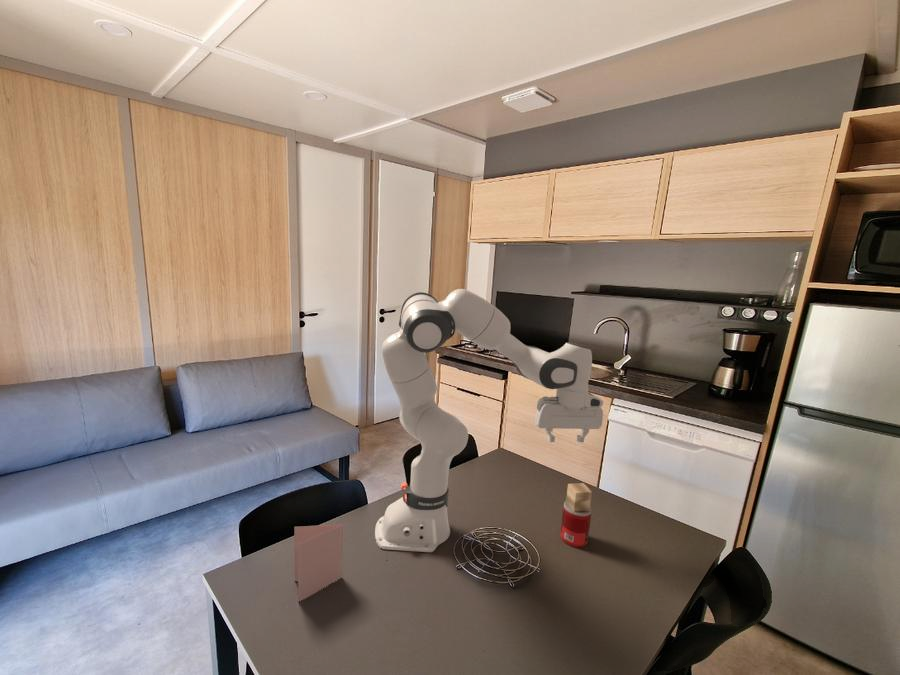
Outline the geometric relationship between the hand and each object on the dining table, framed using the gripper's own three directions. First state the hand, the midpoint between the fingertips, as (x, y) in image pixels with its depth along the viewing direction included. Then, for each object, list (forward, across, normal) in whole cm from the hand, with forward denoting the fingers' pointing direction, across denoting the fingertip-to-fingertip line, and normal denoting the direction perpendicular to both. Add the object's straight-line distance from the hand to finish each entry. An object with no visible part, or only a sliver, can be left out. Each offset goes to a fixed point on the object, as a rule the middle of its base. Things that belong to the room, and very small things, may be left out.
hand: (565, 441), depth 119 cm
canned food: (+30, +4, -4) cm, 30 cm away
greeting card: (+32, -68, -16) cm, 77 cm away
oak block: (+18, +4, -4) cm, 19 cm away
